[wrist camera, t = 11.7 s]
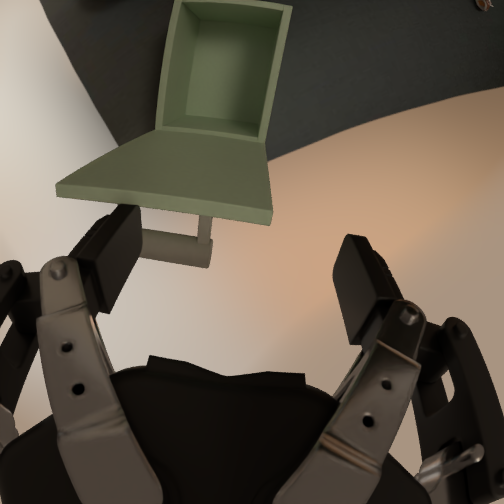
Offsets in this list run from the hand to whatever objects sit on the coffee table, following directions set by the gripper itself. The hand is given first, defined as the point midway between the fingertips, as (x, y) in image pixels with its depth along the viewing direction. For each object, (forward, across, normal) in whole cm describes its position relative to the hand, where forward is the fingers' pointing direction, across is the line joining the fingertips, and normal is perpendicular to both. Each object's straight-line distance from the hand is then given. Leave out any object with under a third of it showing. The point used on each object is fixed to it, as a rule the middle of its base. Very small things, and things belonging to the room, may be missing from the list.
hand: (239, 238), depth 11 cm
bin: (+30, +4, -6) cm, 31 cm away
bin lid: (+11, +4, 0) cm, 12 cm away
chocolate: (+31, -34, -34) cm, 57 cm away
